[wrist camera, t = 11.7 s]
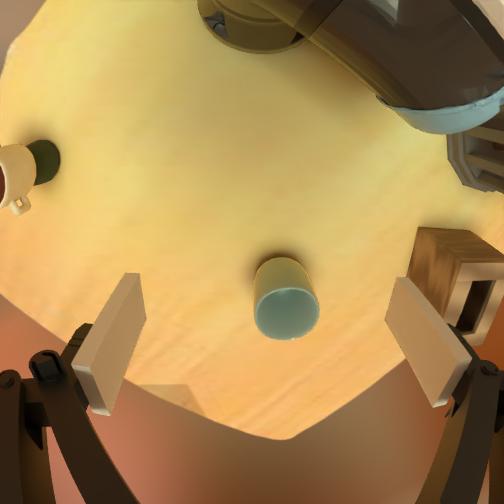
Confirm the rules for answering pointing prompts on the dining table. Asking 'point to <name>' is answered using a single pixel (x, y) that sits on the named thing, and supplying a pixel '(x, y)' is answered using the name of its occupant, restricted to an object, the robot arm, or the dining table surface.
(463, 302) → the coin box
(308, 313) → the cup
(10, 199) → the character mug
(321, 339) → the dining table surface
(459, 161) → the lantern
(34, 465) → the robot arm
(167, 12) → the dining table surface
